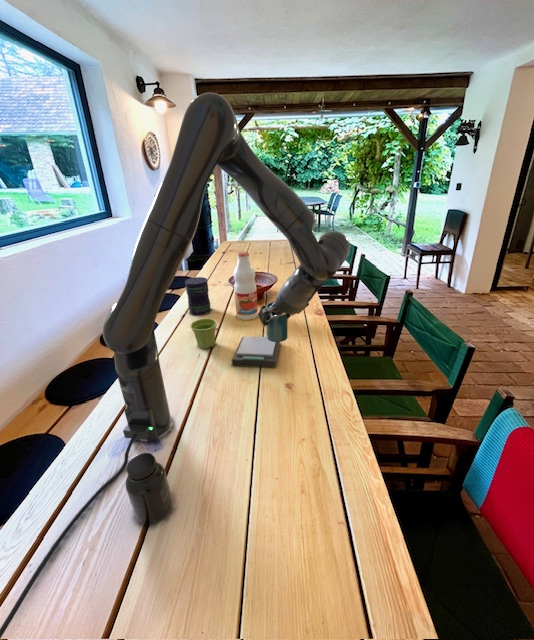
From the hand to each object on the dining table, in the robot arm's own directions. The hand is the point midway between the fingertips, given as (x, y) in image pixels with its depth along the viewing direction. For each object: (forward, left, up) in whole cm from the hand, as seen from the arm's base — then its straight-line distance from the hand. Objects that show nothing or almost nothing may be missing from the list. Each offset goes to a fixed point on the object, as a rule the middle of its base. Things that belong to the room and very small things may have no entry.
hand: (274, 320), depth 93 cm
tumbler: (-1, -1, -5) cm, 5 cm away
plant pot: (+16, +28, -18) cm, 37 cm away
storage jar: (+47, +41, -18) cm, 65 cm away
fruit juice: (+43, +18, -18) cm, 50 cm away
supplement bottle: (-47, +18, -18) cm, 54 cm away
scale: (+11, +8, -18) cm, 22 cm away
